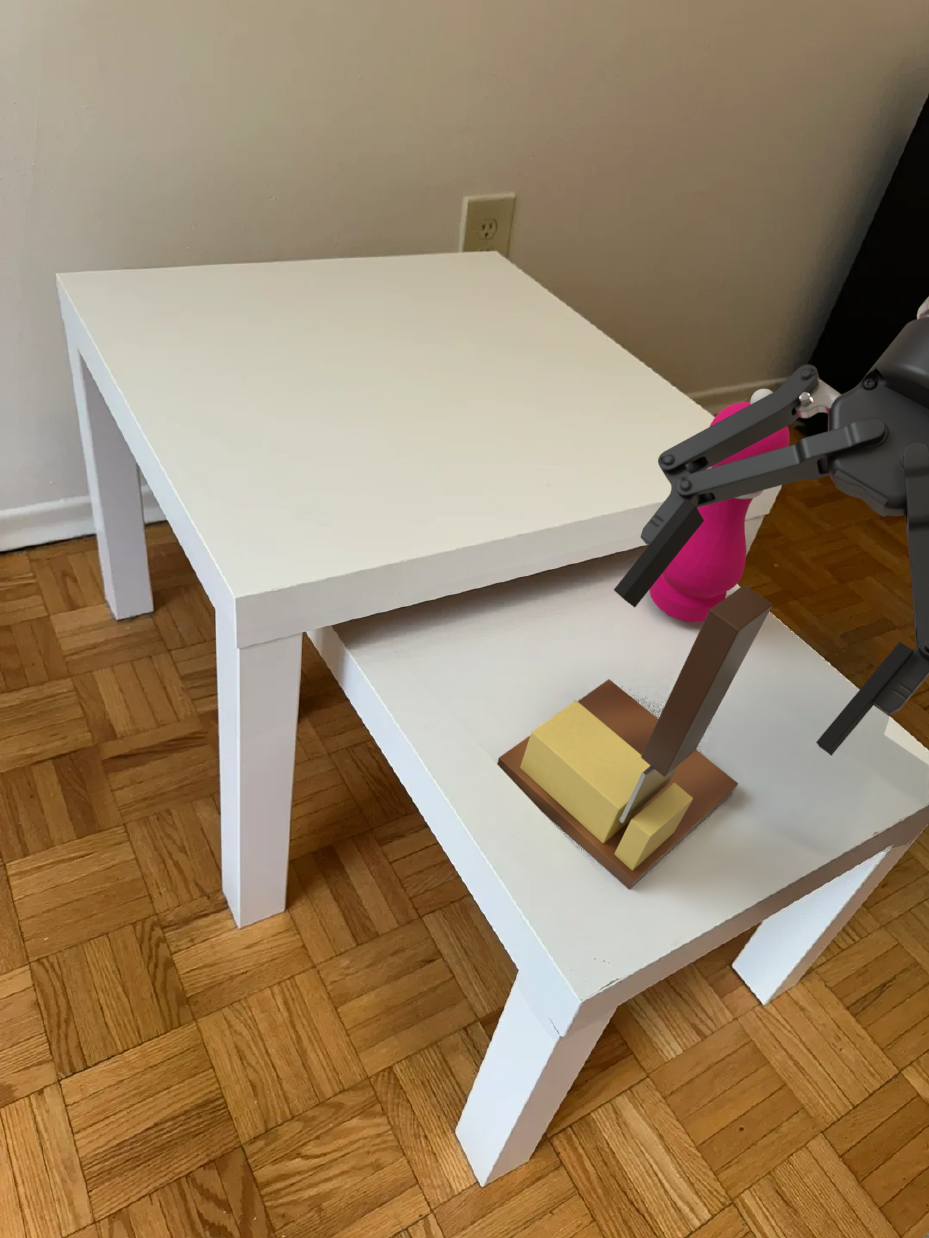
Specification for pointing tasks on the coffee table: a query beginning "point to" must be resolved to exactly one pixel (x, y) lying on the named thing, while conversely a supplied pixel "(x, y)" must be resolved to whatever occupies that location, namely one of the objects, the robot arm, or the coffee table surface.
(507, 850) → the coffee table surface
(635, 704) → the board
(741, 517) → the pepper mill
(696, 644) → the knife
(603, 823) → the butter
